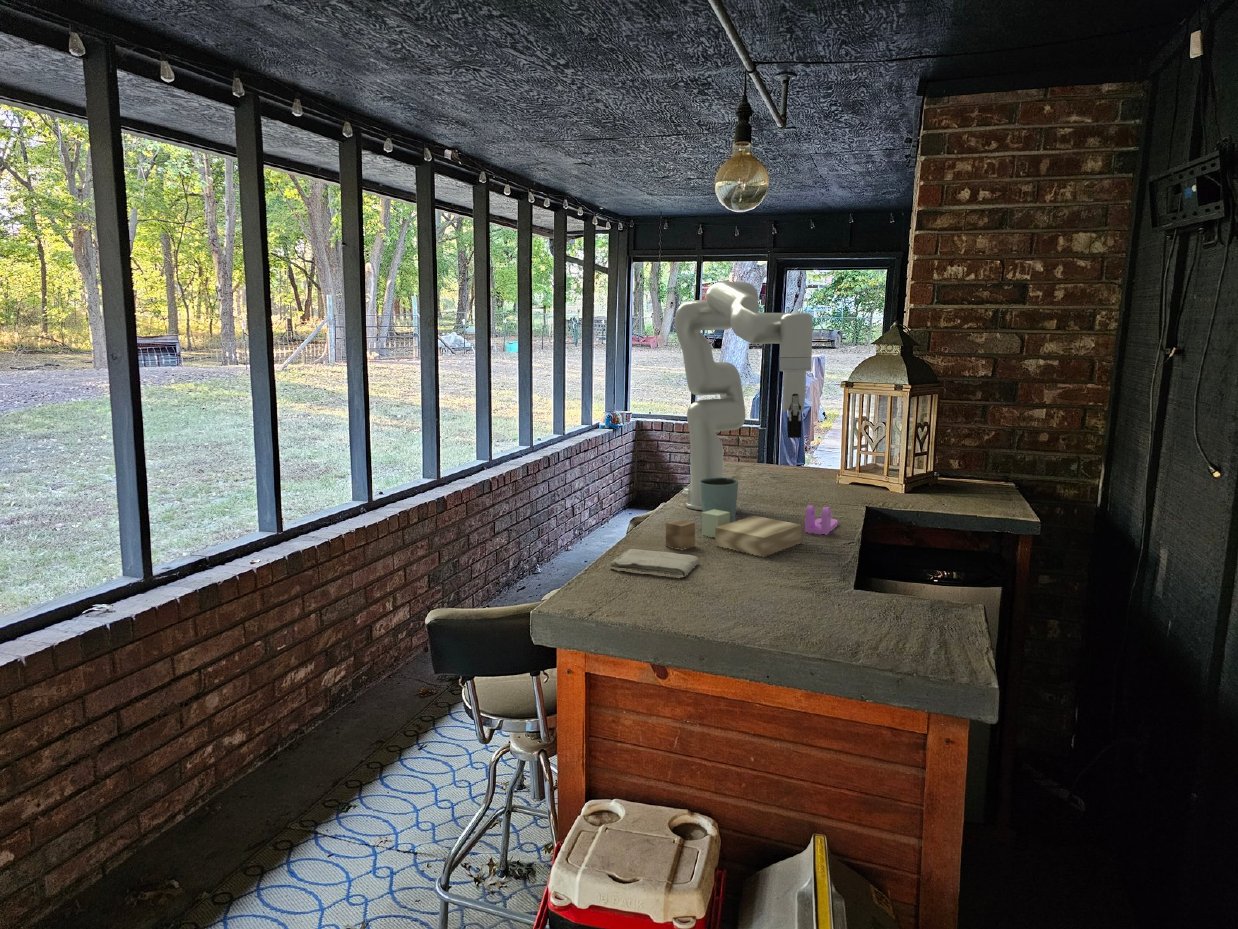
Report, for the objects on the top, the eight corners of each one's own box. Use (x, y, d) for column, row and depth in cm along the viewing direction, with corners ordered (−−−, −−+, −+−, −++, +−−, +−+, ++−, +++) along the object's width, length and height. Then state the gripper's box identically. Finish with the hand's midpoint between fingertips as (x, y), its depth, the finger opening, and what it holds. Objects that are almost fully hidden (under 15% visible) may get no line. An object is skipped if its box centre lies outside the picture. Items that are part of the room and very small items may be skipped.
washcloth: (626, 558, 181) (626, 545, 181) (701, 565, 175) (701, 552, 174) (607, 573, 170) (607, 559, 170) (686, 581, 164) (686, 567, 163)
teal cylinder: (742, 522, 211) (742, 478, 209) (731, 530, 202) (731, 485, 200) (706, 518, 215) (706, 476, 213) (694, 527, 206) (694, 483, 204)
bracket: (826, 535, 196) (827, 509, 195) (804, 533, 199) (805, 506, 198) (839, 524, 207) (840, 498, 206) (819, 522, 210) (820, 496, 209)
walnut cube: (665, 546, 188) (665, 522, 187) (679, 542, 192) (679, 519, 191) (681, 550, 185) (681, 526, 184) (694, 546, 188) (695, 522, 187)
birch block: (715, 547, 188) (715, 527, 187) (753, 534, 199) (754, 515, 199) (763, 558, 179) (763, 537, 178) (801, 544, 190) (801, 524, 189)
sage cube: (702, 535, 198) (702, 512, 197) (714, 531, 201) (714, 509, 200) (717, 539, 195) (717, 515, 193) (729, 535, 198) (729, 512, 197)
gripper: (779, 363, 197) (778, 430, 200) (779, 366, 180) (778, 439, 183) (810, 363, 195) (808, 430, 198) (812, 366, 178) (811, 440, 181)
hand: (794, 434), depth 190 cm, fingers open, 9 cm apart
